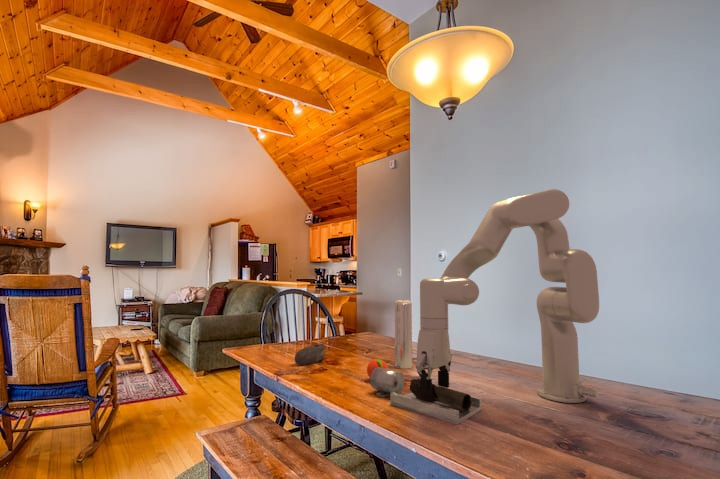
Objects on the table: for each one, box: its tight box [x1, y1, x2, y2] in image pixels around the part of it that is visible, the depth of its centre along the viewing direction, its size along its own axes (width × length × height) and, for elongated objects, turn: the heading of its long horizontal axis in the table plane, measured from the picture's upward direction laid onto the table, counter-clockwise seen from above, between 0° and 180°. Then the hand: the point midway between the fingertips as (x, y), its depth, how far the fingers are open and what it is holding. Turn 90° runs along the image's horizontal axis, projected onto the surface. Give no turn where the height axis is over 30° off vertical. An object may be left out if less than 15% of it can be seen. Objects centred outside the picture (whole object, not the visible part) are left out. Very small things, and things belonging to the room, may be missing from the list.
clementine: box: [366, 358, 388, 378], centre depth 126 cm, size 8×7×7 cm
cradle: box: [389, 392, 483, 425], centre depth 102 cm, size 20×13×3 cm
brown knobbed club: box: [408, 377, 472, 411], centre depth 102 cm, size 18×7×6 cm, turn 44°
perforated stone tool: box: [294, 343, 326, 366], centre depth 150 cm, size 15×5×7 cm, turn 135°
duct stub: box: [369, 367, 406, 398], centre depth 113 cm, size 8×7×7 cm
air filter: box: [394, 299, 413, 370], centre depth 145 cm, size 6×6×25 cm
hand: (435, 389), depth 102 cm, fingers open, 8 cm apart
